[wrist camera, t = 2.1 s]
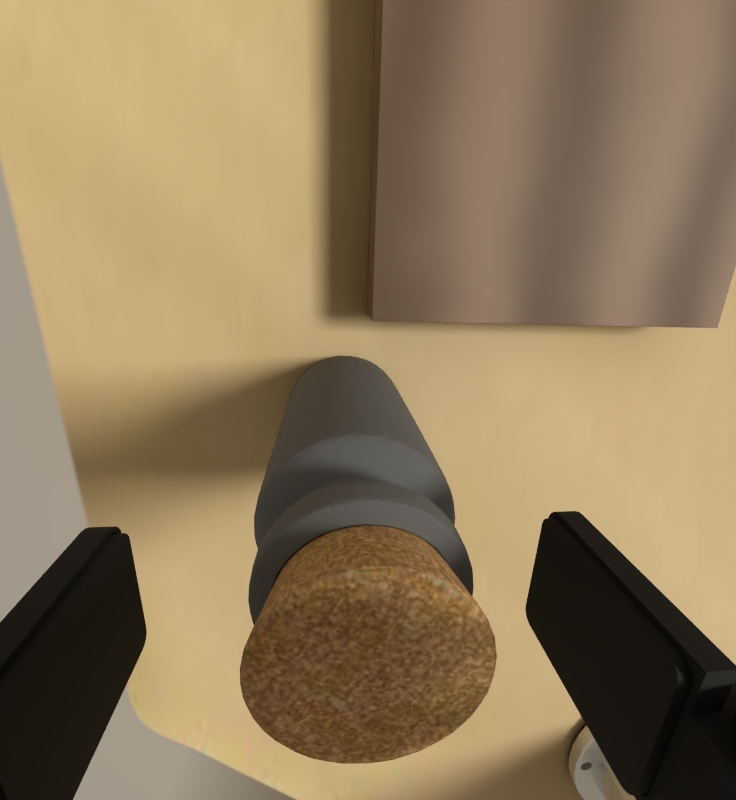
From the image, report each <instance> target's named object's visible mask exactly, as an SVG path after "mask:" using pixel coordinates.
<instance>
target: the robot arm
mask: <svg viewBox="0 0 736 800" xmlns="http://www.w3.org/2000/svg"><path fill="white" fill-rule="evenodd" d="M526 615H527V619H528V622H529V624H530V626H531V628H532V630H533V631H534V633H535V635H536V637H537V638H538V640H539V642H540V644H541V645H542V647H543V649H544V651H545V653H546V654H547V656H548V658H549V660H550V661H551V663H552V665H553V667H554V668H555V670H556V672H557V674H558V675H559V677H560V679H561V681H562V683H563V684H564V686H565V688H566V690H567V691H568V693H569V695H570V697H571V698H572V700H573V702H574V704H575V706H576V707H577V709H578V711H579V713H580V714H581V716H582V718H583V720H584V721H585V723H586V726H585V727H584V728H583V730H582V731H581V732H580V733H579V735H578V736H577V738H576V740H575V742H574V743H573V746H572V749H571V752H570V755H569V765H568V767H569V771H570V776H571V778H572V780H573V782H574V784H575V786H576V788H577V790H578V792H579V794H580V795H581V796H582V797H583V799H584V800H736V665H735V664H734V663H733V662H732V661H731V660H730V659H729V658H728V657H726V656H725V655H724V654H723V653H722V652H721V651H720V650H719V649H718V648H717V647H716V646H715V645H714V644H713V643H712V642H711V641H710V640H709V639H708V638H707V637H706V636H705V635H704V634H703V633H702V632H701V631H700V630H699V629H698V628H697V627H696V626H695V625H694V624H693V623H692V622H691V621H690V620H689V619H688V618H687V617H686V616H685V615H684V614H683V613H682V612H681V611H680V610H679V609H678V608H677V607H676V606H675V605H674V604H673V603H672V602H671V601H670V600H669V599H668V598H666V597H665V596H664V595H663V594H662V593H661V592H660V591H659V590H658V589H657V588H656V587H655V586H654V585H653V584H652V583H651V582H650V581H649V580H648V579H647V578H646V577H645V576H644V575H643V574H642V573H641V572H640V571H639V570H638V569H637V568H636V567H635V566H634V565H633V564H632V563H631V562H630V561H629V560H628V559H627V558H626V557H625V556H624V555H623V554H622V553H621V552H620V551H619V550H618V549H617V548H616V547H615V546H614V545H613V544H612V543H611V542H610V541H609V540H607V539H606V538H605V537H604V536H603V535H602V534H601V533H600V532H599V531H598V530H597V529H596V528H595V527H594V526H593V525H592V524H591V523H590V522H589V521H588V520H587V519H586V518H585V517H584V516H583V515H582V514H581V513H579V512H576V511H569V512H553V513H551V514H550V516H549V518H548V519H545V520H544V521H543V524H542V528H541V533H540V538H539V543H538V548H537V553H536V558H535V563H534V568H533V573H532V578H531V583H530V588H529V593H528V598H527V603H526ZM145 640H146V625H145V619H144V614H143V608H142V603H141V598H140V592H139V587H138V582H137V576H136V571H135V565H134V560H133V555H132V549H131V544H130V539H129V536H128V535H127V534H125V533H122V534H121V530H120V529H119V528H118V527H91V528H86V529H84V530H83V531H82V532H81V533H80V534H79V535H78V536H77V537H76V538H75V540H74V541H73V542H72V543H71V544H70V545H69V546H68V547H67V548H66V550H65V551H64V552H63V553H62V554H61V555H60V556H59V557H58V559H57V560H56V561H55V562H54V563H53V564H52V565H51V566H50V568H49V569H48V570H47V571H46V572H45V573H44V574H43V575H42V577H41V578H40V579H39V580H38V581H37V582H36V583H35V584H34V585H33V587H32V588H31V589H30V590H29V591H28V592H27V593H26V594H25V596H24V597H23V598H22V599H21V600H20V601H19V602H18V603H17V604H16V606H15V607H14V608H13V609H12V610H11V611H10V612H9V613H8V614H7V616H6V617H5V618H4V619H3V620H2V621H1V622H0V800H73V798H74V796H75V793H76V791H77V789H78V787H79V785H80V783H81V781H82V778H83V776H84V774H85V772H86V770H87V768H88V765H89V763H90V761H91V759H92V757H93V755H94V753H95V751H96V748H97V746H98V744H99V742H100V740H101V738H102V735H103V733H104V731H105V729H106V727H107V725H108V723H109V721H110V718H111V716H112V714H113V712H114V710H115V708H116V706H117V703H118V701H119V699H120V697H121V695H122V693H123V690H124V688H125V686H126V684H127V682H128V680H129V678H130V675H131V673H132V671H133V669H134V667H135V665H136V663H137V660H138V658H139V656H140V654H141V652H142V650H143V647H144V644H145Z"/></svg>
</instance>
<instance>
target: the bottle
mask: <svg viewBox="0 0 736 800" xmlns="http://www.w3.org/2000/svg"><path fill="white" fill-rule="evenodd" d="M454 523H455V511H454V503H453V498H452V494H451V491H450V488H449V486H448V483H447V481H446V479H445V476H444V475H443V473H442V471H441V469H440V467H439V465H438V463H437V461H436V459H435V457H434V456H433V454H432V452H431V450H430V448H429V446H428V444H427V443H426V441H425V439H424V437H423V435H422V433H421V431H420V429H419V428H418V426H417V424H416V422H415V420H414V419H413V417H412V415H411V413H410V412H409V410H408V408H407V406H406V404H405V403H404V401H403V399H402V397H401V396H400V394H399V392H398V390H397V389H396V387H395V385H394V384H393V382H392V380H391V379H390V378H389V377H388V375H387V374H386V373H385V372H384V371H383V370H382V369H380V368H379V367H378V366H376V365H375V364H373V363H371V362H370V361H367V360H365V359H361V358H357V357H352V356H337V357H333V358H329V359H326V360H323V361H321V362H319V363H317V364H315V365H314V366H312V367H311V368H310V369H308V370H307V371H306V372H305V373H304V374H303V375H302V376H301V378H300V379H299V381H298V382H297V383H296V385H295V387H294V389H293V391H292V394H291V397H290V399H289V402H288V405H287V408H286V411H285V414H284V417H283V420H282V423H281V426H280V429H279V433H278V436H277V439H276V442H275V445H274V448H273V451H272V455H271V458H270V461H269V464H268V467H267V470H266V473H265V477H264V480H263V483H262V486H261V490H260V493H259V496H258V501H257V506H256V511H255V516H254V529H255V540H256V544H257V547H258V552H257V555H256V558H255V561H254V565H253V569H252V574H251V579H250V584H249V600H248V601H249V607H250V613H251V617H252V621H253V624H254V627H253V629H252V632H251V634H250V636H249V638H248V641H247V643H246V645H245V648H244V651H243V656H242V661H241V666H240V684H241V689H242V694H243V698H244V701H245V703H246V705H247V707H248V709H249V711H250V713H251V715H252V717H253V719H254V720H255V721H256V722H257V724H258V725H259V726H260V727H261V728H262V730H263V731H264V732H266V733H267V734H268V735H269V736H271V737H272V738H273V739H274V740H275V741H277V742H279V743H281V744H282V745H284V746H286V747H288V748H290V749H291V750H293V751H295V752H297V753H300V754H302V755H305V756H307V757H310V758H313V759H318V760H323V761H329V762H336V763H374V762H382V761H388V760H393V759H397V758H400V757H403V756H406V755H409V754H412V753H415V752H418V751H421V750H423V749H425V748H427V747H428V746H430V745H432V744H434V743H436V742H438V741H440V740H442V739H443V738H445V737H447V736H448V735H450V734H451V733H452V732H454V731H455V730H456V729H457V728H458V727H460V726H461V725H462V724H463V723H464V722H465V721H466V720H467V719H468V718H469V717H470V716H471V715H472V714H473V713H474V712H475V710H476V709H477V708H478V706H479V705H480V704H481V702H482V700H483V699H484V697H485V696H486V694H487V692H488V690H489V687H490V684H491V682H492V679H493V675H494V671H495V665H496V657H497V655H496V646H495V637H494V635H493V632H492V629H491V627H490V624H489V621H488V619H487V617H486V616H485V614H484V613H483V611H482V610H481V608H480V607H479V605H478V604H477V602H476V601H475V600H474V598H473V597H472V594H473V573H472V566H471V563H470V560H469V557H468V554H467V551H466V548H465V546H464V544H463V542H462V540H461V538H460V536H459V534H458V532H457V530H456V528H455V527H454Z"/></svg>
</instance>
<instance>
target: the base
mask: <svg viewBox="0 0 736 800" xmlns="http://www.w3.org/2000/svg"><path fill="white" fill-rule="evenodd" d="M735 266H736V0H376V8H375V43H374V77H373V111H372V145H371V179H370V213H369V247H368V281H367V315H368V316H369V317H370V318H371V320H372V321H410V322H457V323H504V324H551V325H599V326H646V327H693V328H718V324H719V321H720V317H721V314H722V310H723V307H724V304H725V300H726V297H727V293H728V290H729V286H730V283H731V279H732V276H733V272H734V269H735Z"/></svg>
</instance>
